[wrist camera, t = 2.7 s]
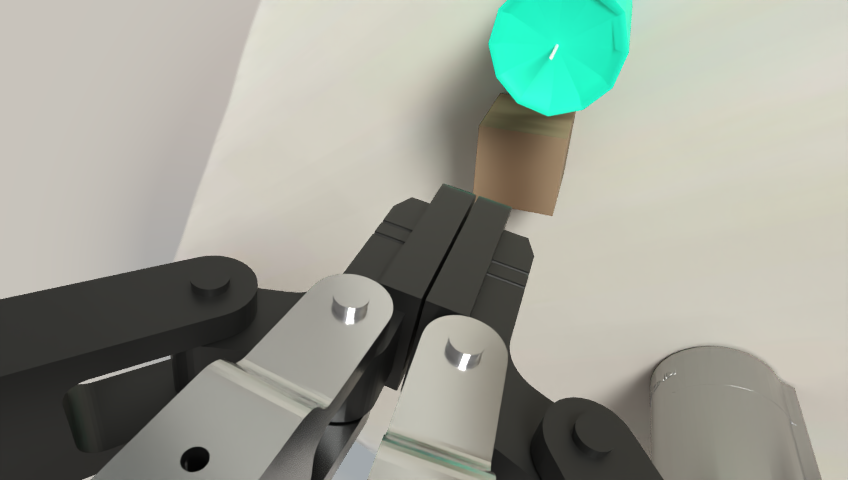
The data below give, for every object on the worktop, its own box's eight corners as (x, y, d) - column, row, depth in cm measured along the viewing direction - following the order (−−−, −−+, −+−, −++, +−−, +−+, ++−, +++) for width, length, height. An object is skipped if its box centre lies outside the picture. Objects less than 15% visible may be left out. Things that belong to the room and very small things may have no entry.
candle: (622, 59, 33) (615, 134, 23) (522, 53, 34) (477, 120, 25) (642, -54, 29) (643, -21, 20) (531, -55, 31) (482, -25, 22)
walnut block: (577, 103, 35) (566, 139, 30) (563, 173, 38) (552, 216, 33) (500, 93, 36) (479, 125, 31) (492, 161, 39) (472, 200, 34)
